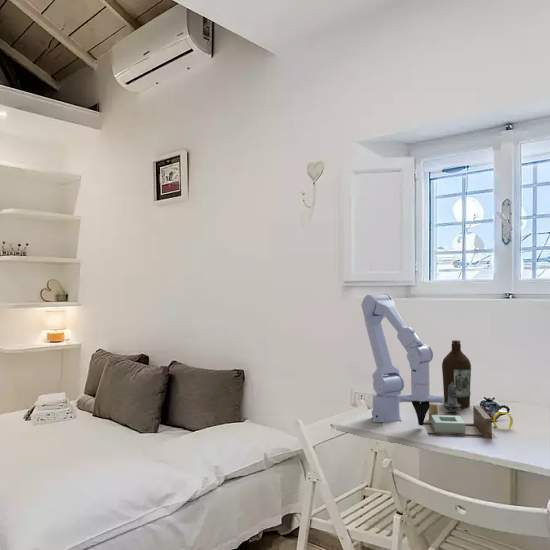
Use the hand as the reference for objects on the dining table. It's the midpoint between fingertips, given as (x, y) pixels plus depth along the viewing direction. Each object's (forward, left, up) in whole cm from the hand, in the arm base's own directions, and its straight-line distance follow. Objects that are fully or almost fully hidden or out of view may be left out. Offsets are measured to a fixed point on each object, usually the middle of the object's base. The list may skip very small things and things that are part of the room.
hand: (420, 424), depth 168 cm
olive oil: (+17, +35, -2) cm, 39 cm away
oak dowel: (+5, +11, -2) cm, 13 cm away
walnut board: (+11, 0, -2) cm, 12 cm away
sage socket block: (+8, 0, -1) cm, 9 cm away
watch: (+26, +5, -2) cm, 27 cm away
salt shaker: (+13, +21, -2) cm, 25 cm away
